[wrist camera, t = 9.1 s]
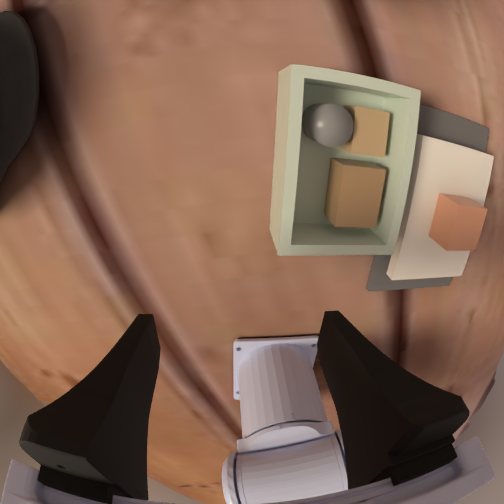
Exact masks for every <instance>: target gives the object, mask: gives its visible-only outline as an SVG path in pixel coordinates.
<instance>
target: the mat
mask: <svg viewBox="0 0 504 504" xmlns="http://www.w3.org/2000/svg"><path fill="white" fill-rule="evenodd" d="M488 132H489V128H487V127H484V126H482V125H480V124H477V123H475V122H472V121H469V120H467V119H464V118H461V117H459V116H456V115H453V114H450V113H447V112H444V111H441V110H438V109H435V108H432V107H429V106H425V105H422V104H420V107H419V118H418V127H417V134H420V135H424V136H428V137H432V138H436V139H440V140H444V141H447V142H451V143H454V144H458V145H461V146H465V147H468V148H471V149H474V150H477V151H480V152H483V153H486V147H487V140H488ZM390 259H391V255H375V256H374V260H373V264H372V268H371V272H370V276H369V279H368V283H367V287H366V289H367V290H368V291H383V290H398V289H411V288H424V287H436V286H447V285H450V282H451V280H452V277H439V278H424V279H406V280H391V279H390V278H389V276H388V275H387V274H386V273H387V270H388V266H389V263H390Z"/></svg>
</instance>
